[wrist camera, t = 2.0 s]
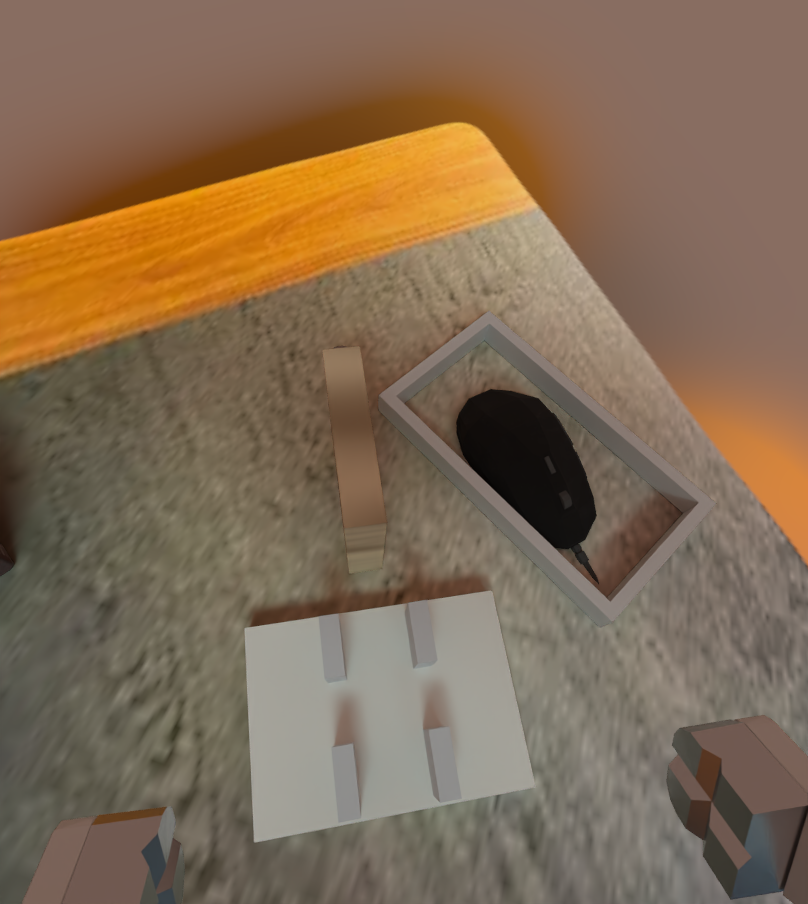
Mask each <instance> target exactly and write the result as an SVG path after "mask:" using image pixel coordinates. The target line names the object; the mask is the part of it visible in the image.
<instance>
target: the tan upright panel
mask: <svg viewBox="0 0 808 904" xmlns="http://www.w3.org/2000/svg"><path fill="white" fill-rule="evenodd" d="M323 359H324V368H325V377H326V386H327V394H328V403H329V412H330V421H331V429H332V438H333V446H334V454H335V462H336V470H337V479H338V487H339V495H340V503H341V511H342V520H343V528H344V536H345V544H346V552H347V561H348V569H349V574H353V573H360V572H366V571H373V570H380V569H382V565H383V556H384V547H385V538H386V529H387V518H386V512H385V506H384V499H383V493H382V486H381V480H380V473H379V467H378V460H377V454H376V447H375V441H374V435H373V428H372V422H371V415H370V409H369V402H368V396H367V389H366V383H365V376H364V370H363V364H362V357H361V351H360V346H355V347H346V346H337V347H334V348H332V349H324V350H323Z"/></svg>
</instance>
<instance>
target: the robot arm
mask: <svg viewBox="0 0 808 904" xmlns="http://www.w3.org/2000/svg"><path fill="white" fill-rule="evenodd" d="M672 746H673V747H674V749H675V750H676V752H677V753H678V755H677V756H676V758H675V759H674V760H673V761H672V762H671V763H670V764H669V765H668V773H667V786H668V791H669V796H670V800H671V802H672V804H673V807H674V809H675V811H676V813H677V815H678V817H679V818H680V820H681V822H682V823H683V825H684V826H685V828H686V829H687V830H689V831H690V832H692V833H693V834H695V835H696V836H698V837H699V838H701V839H702V840H703V857H704V858H705V860H706V861H707V863H708V865H709V866H710V868H711V869H712V871H713V872H714V874H715V876H716V877H717V879H718V880H719V882H720V883H721V885H722V887H723V888H724V890H725V891H726V893H727V894H728V896H729V898H730V899H737V898H744V897H750V896H756V895H763V894H769V893H775V892H781V891H784V892H783V895H784V896H785V897H786V898H787V899H789V900H790V901H791V902H792V903H794V904H808V756H807V755H806V754H805V753H804V752H803V751H802V750H801V749H800V748H799V747H798V746H797V745H796V744H795V743H794V742H793V741H792V740H791V739H790V737H789V736H788V735H787V734H786V733H785V732H784V731H783V730H782V729H781V728H780V727H779V726H778V725H777V724H776V723H775V722H774V721H773V720H772V719H770V718H768V717H766V716H764V715H762V716H755V717H748V718H742V719H736V720H725V721H719V722H713V723H707V724H701V725H695V726H689V727H683V728H679V729H678V730H677V732H676V733H675V734H674V738H673V743H672ZM175 825H176V820H175V817H174V813H173V810H172V807H162V808H154V809H146V810H138V811H130V812H122V813H114V814H105V815H98V816H91V817H84V818H77V819H70V820H62V821H61V822H60V824H59V825H58V826H57V828H56V829H55V830H54V831H53V833H52V834H51V837H50V839H49V841H48V844H47V846H46V848H45V851H44V853H43V855H42V857H41V860H40V862H39V864H38V867H37V869H36V871H35V874H34V876H33V878H32V880H31V883H30V885H29V887H28V890H27V892H26V894H25V897H24V899H23V901H22V904H182V899H183V891H184V876H185V867H184V854H183V850H182V845H181V843H180V842H178V841H177V840H176V839H174V838H173V834H174V830H175Z"/></svg>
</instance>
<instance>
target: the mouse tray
mask: <svg viewBox="0 0 808 904" xmlns="http://www.w3.org/2000/svg"><path fill="white" fill-rule="evenodd" d="M483 341H486V342H487V343H488V344H489V345H490V346H491V347H492V348H494V349H495V350H496V351H497V352H498V353H499V354H500V355H502V356H503V357H504V358H505V359H506V360H507V361H509V362H510V363H511V364H512V365H513V366H514V367H515V368H517V369H518V370H519V371H520V372H521V373H522V374H524V375H525V376H526V377H527V378H528V379H529V380H530V381H532V382H533V383H534V384H535V385H536V386H537V387H538V388H540V389H541V390H542V391H543V392H544V393H545V394H547V395H548V396H549V397H550V398H551V399H552V400H553V401H555V402H556V403H557V404H558V405H559V406H560V407H561V408H563V409H564V410H565V411H566V412H567V413H568V414H570V415H571V416H572V417H573V418H574V419H575V420H576V421H578V422H579V423H580V424H581V425H582V426H583V427H585V428H586V429H587V430H588V431H589V432H590V433H591V434H593V435H594V436H595V437H596V438H597V439H598V440H599V441H601V442H602V443H603V444H604V445H605V446H606V447H608V448H609V449H610V450H611V451H612V452H613V453H614V454H616V455H617V456H618V457H619V458H620V459H621V460H623V461H624V462H625V463H626V464H627V465H628V466H629V467H631V468H632V469H633V470H634V471H635V472H636V473H637V474H639V475H640V476H641V477H642V478H643V479H644V480H646V481H647V482H648V483H649V484H650V485H651V486H652V487H654V488H655V489H656V490H657V491H658V492H659V493H661V494H662V495H663V496H664V497H665V498H666V499H667V500H669V501H670V502H671V503H672V504H673V505H674V506H675V507H677V508H678V509H679V510H680V511H681V512H682V513H683V514H682V515H681V516H680V517H679V518H678V519H677V520H676V521H675V523H674V524H673V525H672V526H671V527H670V528H669V529H668V530H667V532H666V533H665V534H664V535H663V536H662V537H661V538H660V539H659V540H658V542H657V543H656V544H655V545H654V546H653V547H652V548H651V549H650V550H649V552H648V553H647V554H646V555H645V556H644V557H643V558H642V559H641V560H640V562H639V563H638V564H637V565H636V566H635V567H634V568H633V569H632V571H631V572H630V573H629V574H628V575H627V576H626V577H625V578H624V579H623V581H622V582H621V583H620V584H619V585H618V586H617V587H616V588H615V589H614V591H613V592H612V593H611V594H610V595H609V596H608V597H607V598H606V597H605V596H604V595H603V594H602V593H601V592H600V591H599V590H598V589H597V588H596V587H595V586H593V585H592V584H591V583H590V582H589V581H588V580H587V579H586V578H585V577H584V576H583V575H582V574H581V573H580V572H579V571H578V570H577V569H576V568H575V567H574V566H573V565H572V564H571V563H570V562H568V561H567V560H566V559H565V558H564V557H563V556H562V555H561V554H560V553H559V552H558V551H557V550H556V549H555V548H554V547H553V546H552V545H551V544H550V543H549V542H548V541H547V540H546V539H545V538H543V537H542V536H541V535H540V534H539V533H538V532H537V531H536V530H535V529H534V528H533V527H532V526H531V525H530V524H529V523H528V522H527V521H526V520H525V519H524V518H523V517H522V516H521V515H520V514H518V513H517V512H516V511H515V510H514V509H513V508H512V507H511V506H510V505H509V504H508V503H507V502H506V501H505V500H504V499H503V498H502V497H501V496H500V495H499V494H498V493H497V492H496V491H494V490H493V489H492V488H491V487H490V486H489V485H488V484H487V483H486V482H485V481H484V480H483V479H482V478H481V477H480V476H479V475H478V474H477V473H476V472H475V471H474V470H473V469H472V468H471V467H469V466H468V465H467V464H466V463H465V462H464V461H463V460H462V459H461V458H460V457H459V456H458V455H457V454H456V453H455V452H454V451H453V450H452V449H451V448H450V447H449V446H448V445H447V444H446V443H444V442H443V441H442V440H441V439H440V438H439V437H438V436H437V435H436V434H435V433H434V432H433V431H432V430H431V429H430V428H429V427H428V426H427V425H426V424H425V423H424V422H423V421H422V420H421V419H419V418H418V417H417V416H416V415H415V414H414V413H413V412H412V411H411V410H410V409H409V408H408V407H407V406H406V405H405V404H404V403H405V402H406V401H408V400H409V399H410V398H412V397H413V396H414V395H415V394H417V393H418V392H419V391H420V390H422V389H423V388H424V387H426V386H427V385H428V384H429V383H431V382H432V381H433V380H434V379H436V378H437V377H438V376H440V375H441V374H442V373H443V372H445V371H446V370H447V369H448V368H450V367H451V366H452V365H454V364H455V363H456V362H457V361H459V360H460V359H461V358H462V357H464V356H465V355H466V354H468V353H469V352H470V351H471V350H473V349H474V348H475V347H476V346H478V345H479V344H480V343H482V342H483ZM378 410H379V411H380V412H381V413H382V414H383V415H384V416H385V417H386V418H387V419H388V420H389V421H390V422H391V423H392V424H393V425H394V426H395V427H396V428H397V429H398V430H399V431H400V432H401V433H402V434H403V435H404V436H405V437H406V438H407V439H408V440H409V441H410V442H411V443H412V444H413V445H414V446H415V447H416V448H417V449H418V450H419V451H420V452H421V453H422V454H423V455H425V456H426V457H427V458H428V459H429V460H430V461H431V462H432V463H433V464H434V465H435V466H436V467H437V468H438V469H439V470H440V471H441V472H442V473H443V474H444V475H445V476H446V477H447V478H448V479H449V480H450V481H451V482H452V483H453V484H454V485H455V486H456V487H457V488H458V489H459V490H460V491H461V492H462V493H463V494H464V495H465V496H466V497H467V498H468V499H469V500H470V501H471V502H472V503H473V504H474V505H475V506H476V507H477V508H479V509H480V510H481V511H482V512H483V513H484V514H485V515H486V516H487V517H488V518H489V519H490V520H491V521H492V522H493V523H494V524H495V525H496V526H497V527H498V528H499V529H500V530H501V531H502V532H503V533H504V534H505V535H506V536H507V537H508V538H509V539H510V540H511V541H512V542H513V543H514V544H515V545H516V546H517V547H518V548H519V549H520V550H521V551H522V552H523V553H524V554H525V555H526V556H527V557H528V558H529V559H530V560H531V561H533V562H534V563H535V564H536V565H537V566H538V567H539V568H540V569H541V570H542V571H543V572H544V573H545V574H546V575H547V576H548V577H549V578H550V579H551V580H552V581H553V582H554V583H555V584H556V585H557V586H558V587H559V588H560V589H561V590H562V591H563V592H564V593H565V594H566V595H567V596H568V597H569V598H570V599H571V600H572V601H573V602H574V603H575V604H576V605H577V606H578V607H579V608H580V609H581V610H582V611H583V612H584V613H585V614H586V615H588V616H589V617H590V618H591V619H592V620H593V621H594V622H595V623H596V624H597V625H598V626H599V627H603V626H605V625H607V624H610V623H612V622H613V621H614V620H615V619H616V618H617V617H618V616H619V615H620V613H621V612H622V611H623V610H624V609H625V608H626V607H627V605H628V604H629V603H630V602H631V601H632V600H633V599H634V597H635V596H636V595H637V594H638V593H639V592H640V591H641V589H642V588H643V587H644V586H645V585H646V584H647V583H648V581H649V580H650V579H651V578H652V577H653V576H654V575H655V573H656V572H657V571H658V570H659V569H660V568H661V567H662V565H663V564H664V563H665V562H666V561H667V560H668V559H669V557H670V556H671V555H672V554H673V553H674V552H675V551H676V549H677V548H678V547H679V546H680V545H681V544H682V543H683V541H684V540H685V539H686V538H687V537H688V536H689V535H690V533H691V532H692V531H693V530H694V529H695V528H696V527H697V525H698V524H699V523H700V522H701V521H702V520H703V519H704V517H705V516H706V515H707V514H708V513H709V512H710V511H711V509H712V508H713V507H714V506H715V505H716V504H717V503H716V502H714V501H713V500H712V499H711V498H710V497H709V496H707V495H706V494H705V493H704V492H703V491H701V490H700V489H699V488H698V487H697V486H696V485H694V484H693V483H692V482H691V481H690V480H689V479H687V478H686V477H685V476H684V475H683V474H681V473H680V472H679V471H678V470H677V469H676V468H674V467H673V466H672V465H671V464H670V463H668V462H667V461H666V460H665V459H664V458H663V457H661V456H660V455H659V454H658V453H657V452H655V451H654V450H653V449H652V448H651V447H650V446H648V445H647V444H646V443H645V442H644V441H642V440H641V439H640V438H639V437H638V436H637V435H635V434H634V433H633V432H632V431H631V430H629V429H628V428H627V427H626V426H625V425H624V424H622V423H621V422H620V421H619V420H618V419H616V418H615V417H614V416H613V415H612V414H611V413H609V412H608V411H607V410H606V409H605V408H603V407H602V406H601V405H600V404H599V403H598V402H596V401H595V400H594V399H593V398H592V397H590V396H589V395H588V394H587V393H586V392H585V391H583V390H582V389H581V388H580V387H579V386H577V385H576V384H575V383H574V382H573V381H572V380H570V379H569V378H568V377H567V376H566V375H564V374H563V373H562V372H561V371H560V370H559V369H557V368H556V367H555V366H554V365H553V364H551V363H550V362H549V361H548V360H547V359H546V358H544V357H543V356H542V355H541V354H540V353H538V352H537V351H536V350H535V349H534V348H533V347H531V346H530V345H529V344H528V343H527V342H525V341H524V340H523V339H522V338H521V337H520V336H518V335H517V334H516V333H515V332H514V331H512V330H511V329H510V328H509V327H508V326H507V325H505V324H504V323H503V322H502V321H501V320H500V319H498V318H497V317H496V316H495V315H494V314H492V313H491V312H490V311H488V312H487V313H485V314H484V315H483V316H481V317H480V318H479V319H477V320H476V321H475V322H473V323H472V324H471V325H470V326H468V327H467V328H466V329H464V330H463V331H462V332H460V333H459V334H458V335H456V336H455V337H454V338H452V339H451V340H450V341H449V342H447V343H446V344H445V345H443V346H442V347H441V348H439V349H438V350H437V351H435V352H434V353H433V354H432V355H430V356H429V357H428V358H426V359H425V360H424V361H422V362H421V363H420V364H418V365H417V366H416V367H415V368H413V369H412V370H411V371H409V372H408V373H407V374H405V375H404V376H403V377H401V378H400V379H399V380H398V381H396V382H395V383H394V384H392V385H391V386H390V387H388V388H387V389H386V390H384V391H383V392H382V393H381V394H379V400H378Z"/></svg>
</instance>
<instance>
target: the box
mask: <svg viewBox="0 0 808 904" xmlns="http://www.w3.org/2000/svg"><path fill="white" fill-rule="evenodd" d="M13 565H14V563H13V561H12V560H11V558H10V557H9V555H8V554H7V552H6V551H5V549H4V548H3V546H2V545H1V543H0V576H1V575H3V574H5V573H6V572H8V571H9V570H10V569H11V568H12V567H13Z"/></svg>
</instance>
